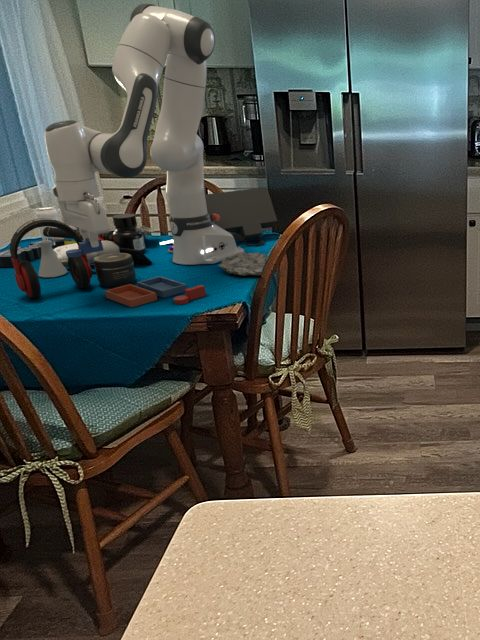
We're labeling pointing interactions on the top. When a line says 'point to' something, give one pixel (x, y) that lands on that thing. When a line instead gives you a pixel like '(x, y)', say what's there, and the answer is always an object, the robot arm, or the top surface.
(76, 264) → the headphones
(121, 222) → the ink bottle
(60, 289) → the top surface
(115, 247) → the round bodied animal figurine
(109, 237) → the flashlight
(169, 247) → the building blocks
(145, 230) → the topographic map
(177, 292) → the blue tray
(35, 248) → the logo
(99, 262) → the jar
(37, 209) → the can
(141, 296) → the terracotta tray
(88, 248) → the navy paddle shape
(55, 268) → the flask
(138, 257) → the smartphone
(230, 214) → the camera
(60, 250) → the binoculars
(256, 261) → the rock
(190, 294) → the red paddle shape
